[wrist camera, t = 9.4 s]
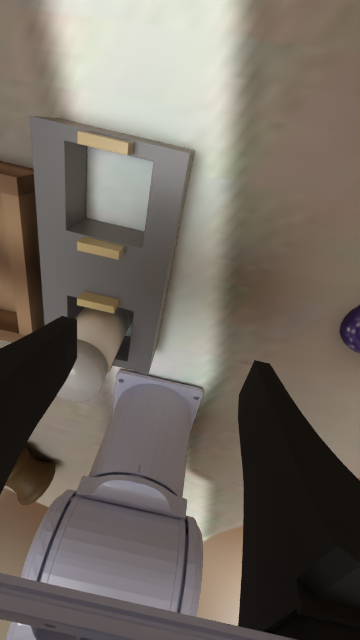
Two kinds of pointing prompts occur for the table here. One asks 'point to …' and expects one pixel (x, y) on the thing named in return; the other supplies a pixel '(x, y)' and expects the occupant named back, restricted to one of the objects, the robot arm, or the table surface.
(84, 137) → the fuse holder
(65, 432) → the table surface
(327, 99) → the table surface
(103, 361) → the plain fuse
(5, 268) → the tray
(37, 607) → the robot arm
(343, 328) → the toy lamp
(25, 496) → the kendama
